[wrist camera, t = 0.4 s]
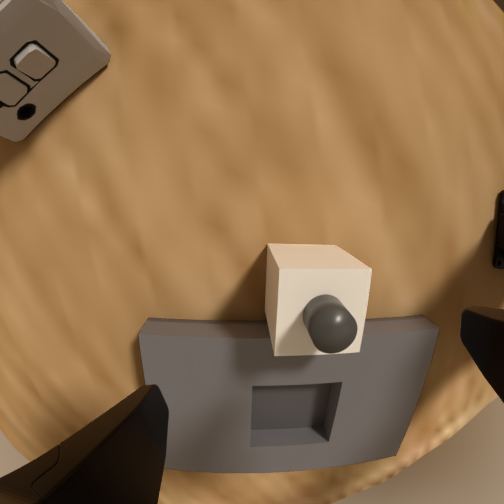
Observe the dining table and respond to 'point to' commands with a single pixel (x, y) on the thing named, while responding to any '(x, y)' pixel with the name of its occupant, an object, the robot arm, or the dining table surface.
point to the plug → (315, 299)
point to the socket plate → (283, 394)
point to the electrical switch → (42, 61)
